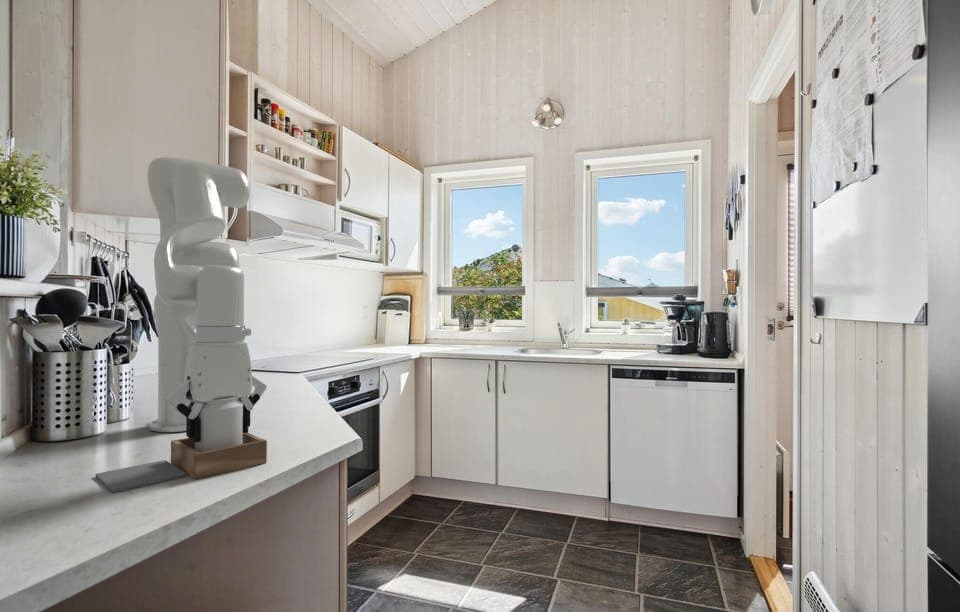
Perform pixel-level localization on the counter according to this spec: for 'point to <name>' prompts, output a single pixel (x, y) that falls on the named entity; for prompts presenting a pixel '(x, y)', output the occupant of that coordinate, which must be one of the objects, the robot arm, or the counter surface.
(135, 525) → the counter surface
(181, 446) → the walnut box
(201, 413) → the can
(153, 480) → the rubber mat
